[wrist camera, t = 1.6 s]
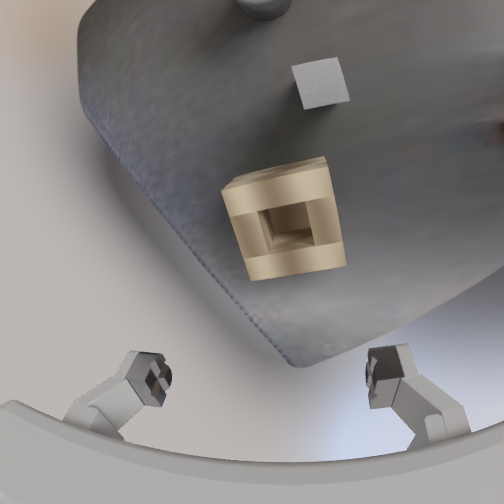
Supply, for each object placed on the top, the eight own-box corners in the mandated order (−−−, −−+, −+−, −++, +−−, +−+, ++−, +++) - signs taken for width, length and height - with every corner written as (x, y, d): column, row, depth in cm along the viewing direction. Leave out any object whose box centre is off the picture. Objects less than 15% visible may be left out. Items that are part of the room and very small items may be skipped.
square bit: (328, 73, 26) (337, 57, 17) (337, 103, 27) (350, 100, 18) (296, 79, 27) (291, 66, 18) (305, 109, 28) (304, 109, 19)
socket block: (324, 156, 30) (327, 166, 25) (341, 240, 34) (346, 265, 29) (235, 176, 33) (220, 190, 27) (260, 254, 37) (251, 281, 31)
